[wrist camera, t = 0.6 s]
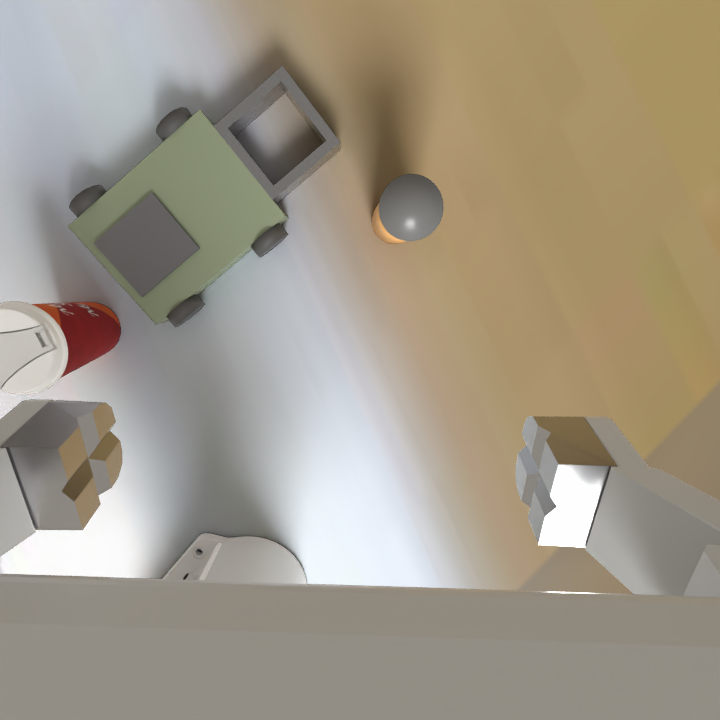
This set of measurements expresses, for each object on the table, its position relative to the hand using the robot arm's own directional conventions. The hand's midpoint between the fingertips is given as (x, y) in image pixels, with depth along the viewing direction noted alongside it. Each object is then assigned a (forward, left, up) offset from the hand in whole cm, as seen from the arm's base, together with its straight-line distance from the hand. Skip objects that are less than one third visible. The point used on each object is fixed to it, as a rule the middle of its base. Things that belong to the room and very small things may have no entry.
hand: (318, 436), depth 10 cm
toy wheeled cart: (-8, +16, -48) cm, 52 cm away
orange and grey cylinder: (+10, +2, -48) cm, 49 cm away
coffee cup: (-24, +14, -49) cm, 56 cm away
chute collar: (+5, +16, -48) cm, 51 cm away
